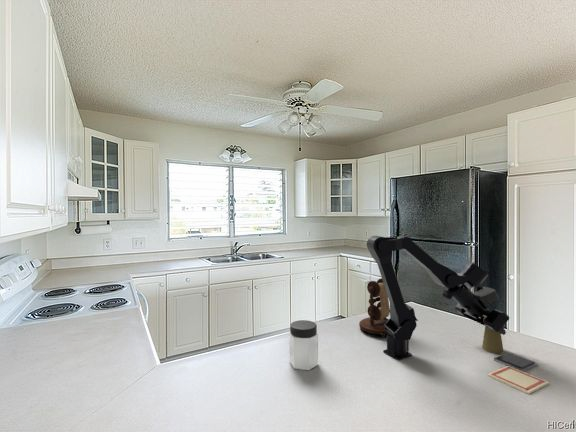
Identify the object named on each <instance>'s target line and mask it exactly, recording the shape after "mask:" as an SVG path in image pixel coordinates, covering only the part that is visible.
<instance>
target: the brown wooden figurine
mask: <svg viewBox="0 0 576 432" xmlns="http://www.w3.org/2000/svg"><path fill="white" fill-rule="evenodd" d="M366 289H367V292H368V293H369V298H368V304H369V306H368V307H367V315H368V317H365V318H363V319H361V320H359V323H358V324H359V325H358V326H359V329H360V331H364V332H366V333H370V334H375V335H381V337H382V338H385V335H388V332H387V331H386V330H385V328H384V324H385V323H386V322H387V321H388V320H389V319H390V318H387V317H390V301H389V298H388V295H387V292H386V289H385V286H384V283H383V280H382V277H381V278H379V279H377V281H375V280H371V281H368V283H367V286H366ZM377 302H378V303H377ZM375 303H377V304H376V305H375Z"/></svg>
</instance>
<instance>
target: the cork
mask: <svg viewBox="0 0 576 432" xmlns="http://www.w3.org/2000/svg"><path fill="white" fill-rule="evenodd" d="M485 318H486V317H484V319H485ZM483 321H484V320H483ZM481 345H482V346H481V347H482V348H481V349H482V350H484V351H485V352H488V353H491V354H497V355H498V354H500V355H501V354H504V352H505V351H504V345H503V338H502V334H500V333H498V332H496V331H493V330H491V329H489V328H487V327H486V325H485V327H484V332H483V339H482V344H481Z"/></svg>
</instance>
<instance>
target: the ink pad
mask: <svg viewBox="0 0 576 432" xmlns="http://www.w3.org/2000/svg"><path fill="white" fill-rule="evenodd" d="M493 361H494V362H497V363H500V364H502V365H504V366H510V367H512V368H515V369H517V370H520V371H522V372H526V371H528V370H531V369H532V368H535V367H537V366H538V362H535V361H533V360H531V359H528V358H525V357H522V356H520V355H517V354H514V353H512V352H506V353H503V354H502V355H501V354H500V355H498V356H496V357H494V358H493Z"/></svg>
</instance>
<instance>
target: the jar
mask: <svg viewBox="0 0 576 432" xmlns="http://www.w3.org/2000/svg"><path fill="white" fill-rule="evenodd" d="M317 325H318V324H317V323H316V322H314V321H311V320H307V319H306V320H305V319H304V320H302V319H301V320H296V321H295V320H294V321H293V322H291V323H290V325H289V333H288V336H289V338H288V339H289V341H288V342H289V343H288V344H289V345H288V346H289V349H288V350H289V351H288V353H289V356H288V359H289V360H288V361H289V364H291V366H292V368H293V369H295V370H304V371H310V370H312V369H313V368H315V367H317V366H319V334H318V333H317V332H318V331H317V330H318V329H317V328H318V327H317Z"/></svg>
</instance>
